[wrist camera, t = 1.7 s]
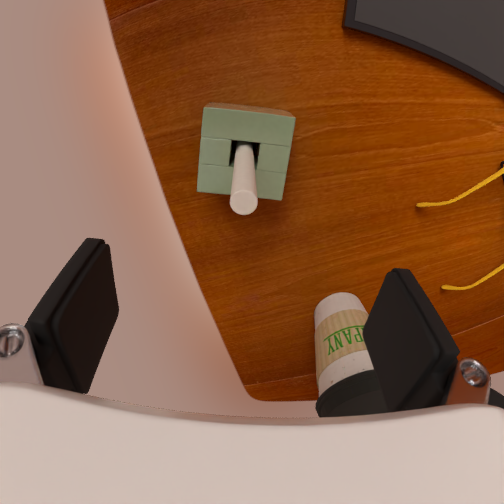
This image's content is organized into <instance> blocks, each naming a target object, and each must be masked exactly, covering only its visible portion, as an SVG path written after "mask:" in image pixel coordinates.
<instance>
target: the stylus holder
mask: <svg viewBox="0 0 504 504" xmlns="http://www.w3.org/2000/svg"><path fill="white" fill-rule="evenodd" d="M295 120H296V118H295V117H294V116H293V115H292V114H291V113H290V112H289V111H285V110H278V109H271V108H263V107H255V106H247V105H238V104H227V103H216V102H210V103H208V104H207V105H206V106H205V107H204V108H203V118H202V129H201V141H200V153H199V166H198V181H197V192H206V193H217V194H227V195H231V188H232V179H233V170H234V161H235V153H231V150H232V141H233V140H238V141H248V142H256V143H257V145H256V152H255V156H254V166H255V177H256V188H257V198H264V199H273V200H282V196H283V190H284V184H285V179H286V173H287V167H288V162H289V156H290V150H291V144H292V138H293V132H294V126H295Z"/></svg>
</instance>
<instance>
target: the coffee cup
mask: <svg viewBox="0 0 504 504" xmlns="http://www.w3.org/2000/svg"><path fill="white" fill-rule="evenodd" d="M368 316H369V314H367V312H366V310H365V309H364V307H363V305H362V304H361V302H360V300H359V299H358V298H357V297H356V296H355V295H353V294H351V293H343V292H341V293H335V294H332V295H330V296H327V297H326V298H324V299H323V300H322V301H321V302H320V303H319V304H318V305H317V307H316V309H315V312H314V320H315V355H316V376H317V386H318V389H319V398H318V400H317V402H316V411H317V413H318V416H319V417H320V418H322V417H344V416H359V415H371V414H381V413H390V412H388V411H387V408H386V405H385V402H384V399H383V396H382V393H381V389H380V386H379V383H378V380H377V377H376V374H375V371H374V368H373V365H372V362H371V359H370V356H369V354H368V351H367V348H366V345H365V342H364V339H363V335H362V332H363V327H364V325H365V323H366V321H367V319H368Z"/></svg>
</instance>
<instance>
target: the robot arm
mask: <svg viewBox="0 0 504 504" xmlns="http://www.w3.org/2000/svg"><path fill="white" fill-rule="evenodd" d="M118 312H119V306H118V301H117V294H116V288H115V282H114V275H113V268H112V261H111V254H110V247H109V245H108V244H105V242H104V240H103V239H94V238H87V239H85V241H84V242H83V243H82V245H81V246H80V247H79V248H78V250H77V251H76V252H75V254H74V255H73V256H72V258H71V259H70V260H69V261H68V263H67V264H66V265H65V267H64V268H63V269H62V271H61V272H60V273H59V275H58V276H57V278H56V279H55V280H54V282H53V283H52V284H51V286H50V287H49V289H48V290H47V291H46V293H45V295H44V296H43V297H42V299H41V300H40V302H39V303H38V305H37V306H36V308H35V309H34V311H33V312H32V314H31V315H30V317H29V318H28V321H27V323H26V324H25V326H22V325H19V324H12V323H11V324H6V325H3V326H1V327H0V504H504V396H503V395H501V394H500V393H498V392H497V391H495V390H493V389H491V388H490V386H491V377H490V374H489V372H488V370H487V369H486V367H485V366H484V365H483V364H482V363H481V362H479V361H478V360H476V359H473V358H470V357H465V358H462V359H460V360H459V361H458V360H457V358H456V357H457V355H458V354H459V353H460V351H459V349H458V347H457V345H456V344H455V342H454V340H453V338H452V337H451V335H450V333H449V331H448V330H447V328H446V326H445V325H444V323H443V321H442V320H441V318H440V316H439V315H438V313H437V311H436V310H435V308H434V307H433V305H432V303H431V302H430V300H429V299H428V297H427V295H426V294H425V292H424V291H423V289H422V288H421V286H420V285H419V283H418V282H417V280H416V279H415V277H414V276H413V274H412V273H411V271H410V270H408V269H400V268H394V269H392V270H391V272H388V273H387V275H386V277H385V279H384V282H383V284H382V286H381V289H380V291H379V294H378V296H377V298H376V301H375V303H374V305H373V307H372V310H371V312H370V314H369V316H368V319H367V321H366V323H365V325H364V327H363V332H362V335H363V339H364V342H365V345H366V348H367V351H368V354H369V356H370V359H371V362H372V365H373V368H374V371H375V374H376V377H377V380H378V383H379V386H380V389H381V393H382V396H383V399H384V402H385V405H386V408H387V411H388V412H390V413H381V414H371V415H359V416H344V417H322V418H260V417H236V416H223V415H211V414H200V413H191V412H183V411H175V410H167V409H160V408H153V407H147V406H141V405H135V404H129V403H125V402H119V401H114V400H108V399H104V398H99V397H94V396H90V395H85V394H87V393H88V391H89V389H90V386H91V383H92V380H93V378H94V375H95V372H96V370H97V367H98V364H99V362H100V359H101V357H102V354H103V352H104V349H105V347H106V344H107V341H108V339H109V336H110V334H111V332H112V329H113V327H114V324H115V322H116V320H117V317H118ZM83 393H85V394H83Z"/></svg>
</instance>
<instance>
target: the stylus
mask: <svg viewBox="0 0 504 504" xmlns="http://www.w3.org/2000/svg"><path fill="white" fill-rule="evenodd" d="M257 205H258V199H257V188H256V177H255V166H254V155H253V145H252V142H248V141H237V145H236V153H235V161H234V170H233V179H232V188H231V197H230V206H231V208H232V210H233V211H234V212H236V213H237V214H240V215H248V214H250V213H252V212H253V211H254V210H255V209H256V207H257Z"/></svg>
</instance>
